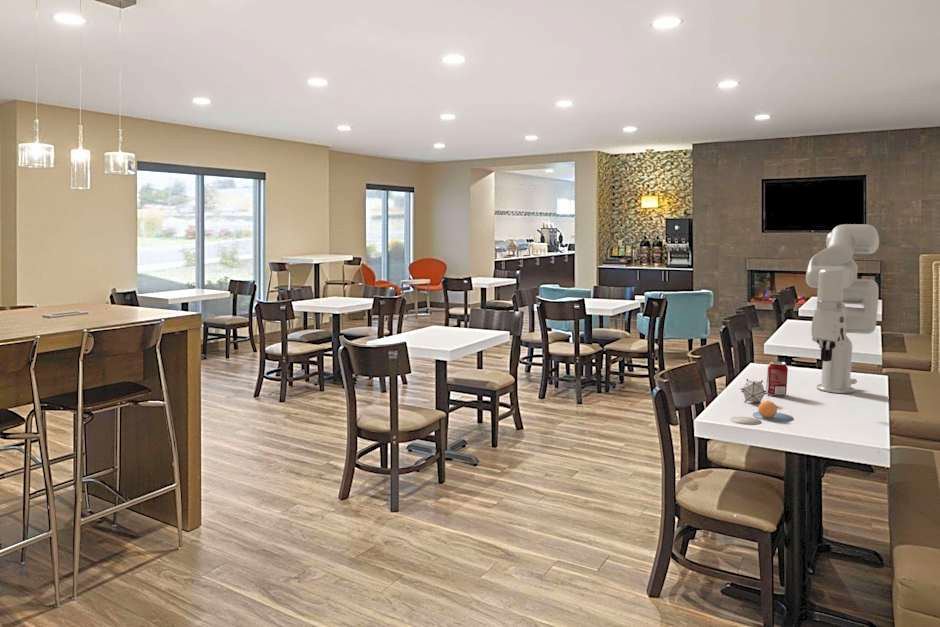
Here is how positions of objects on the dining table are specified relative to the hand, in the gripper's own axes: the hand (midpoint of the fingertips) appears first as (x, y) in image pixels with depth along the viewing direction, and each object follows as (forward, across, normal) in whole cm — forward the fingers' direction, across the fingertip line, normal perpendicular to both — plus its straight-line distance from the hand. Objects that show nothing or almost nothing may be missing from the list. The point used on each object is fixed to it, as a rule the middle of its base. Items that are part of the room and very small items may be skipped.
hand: (826, 360), depth 240 cm
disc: (+16, -1, +24) cm, 29 cm away
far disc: (+15, -1, +36) cm, 40 cm away
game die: (+17, +16, +15) cm, 27 cm away
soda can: (+17, +21, -2) cm, 27 cm away
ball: (+13, -1, +27) cm, 30 cm away
